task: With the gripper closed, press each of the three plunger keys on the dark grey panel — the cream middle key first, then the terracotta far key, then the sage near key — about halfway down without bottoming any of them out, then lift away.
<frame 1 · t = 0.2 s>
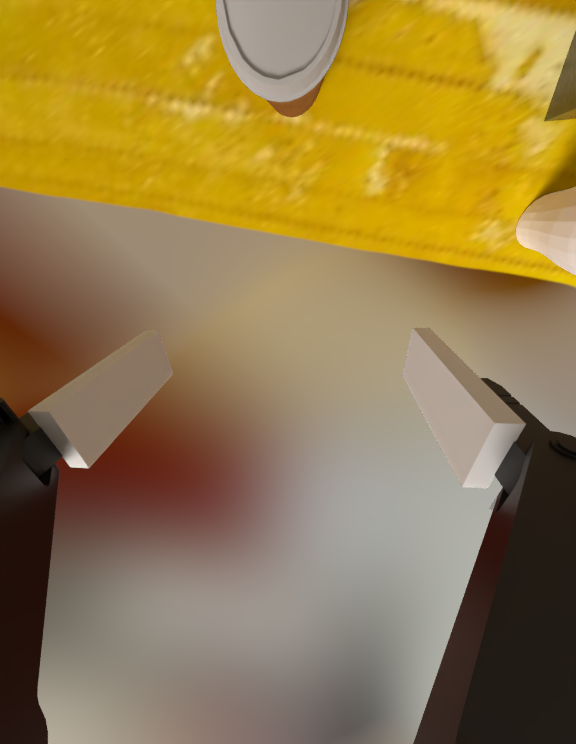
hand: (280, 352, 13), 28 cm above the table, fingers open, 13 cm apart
disposable coffee cup: (292, 77, 27), on the table
cup: (541, 221, 32), on the table
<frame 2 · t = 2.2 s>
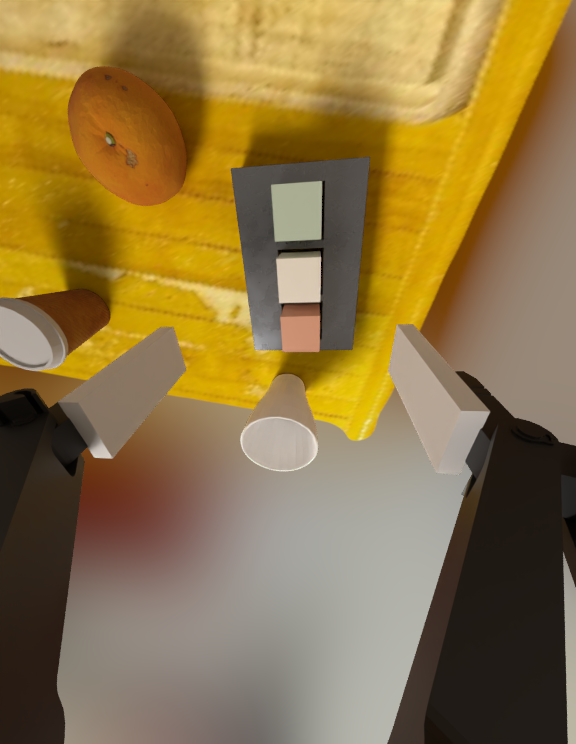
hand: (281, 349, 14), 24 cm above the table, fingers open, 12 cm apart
disposable coffee cup: (91, 308, 41), on the table
key terracotta: (301, 327, 32), point 6 cm above the table, slide at 0.0 cm
fruit: (154, 153, 29), on the table
key sage: (298, 213, 26), point 6 cm above the table, slide at 0.0 cm
key cream: (300, 276, 29), point 6 cm above the table, slide at 0.0 cm
cup: (288, 386, 45), on the table
panel: (302, 267, 34), on the table
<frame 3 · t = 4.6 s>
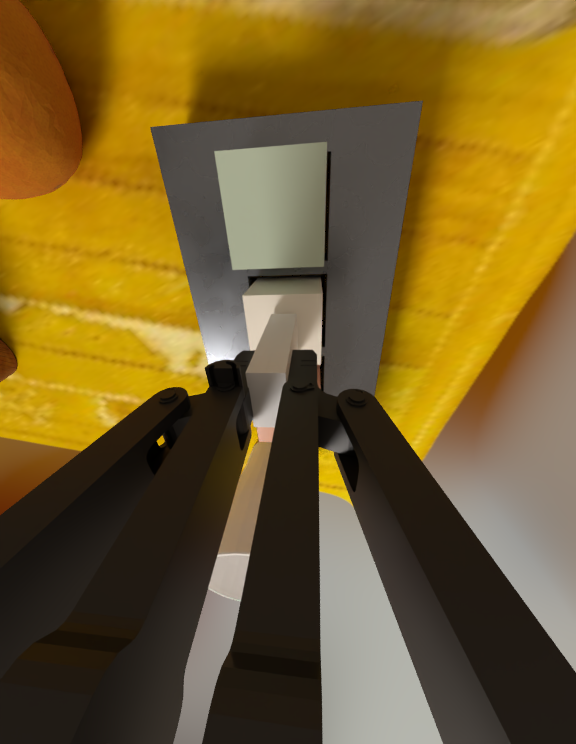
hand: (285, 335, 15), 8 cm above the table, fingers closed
key terracotta: (290, 398, 20), point 6 cm above the table, slide at 0.0 cm
fruit: (32, 108, 17), on the table
key sage: (280, 213, 14), point 6 cm above the table, slide at 0.0 cm
key cream: (287, 318, 18), point 5 cm above the table, slide at 1.1 cm, touching gripper
cup: (275, 452, 33), on the table
panel: (292, 298, 22), on the table
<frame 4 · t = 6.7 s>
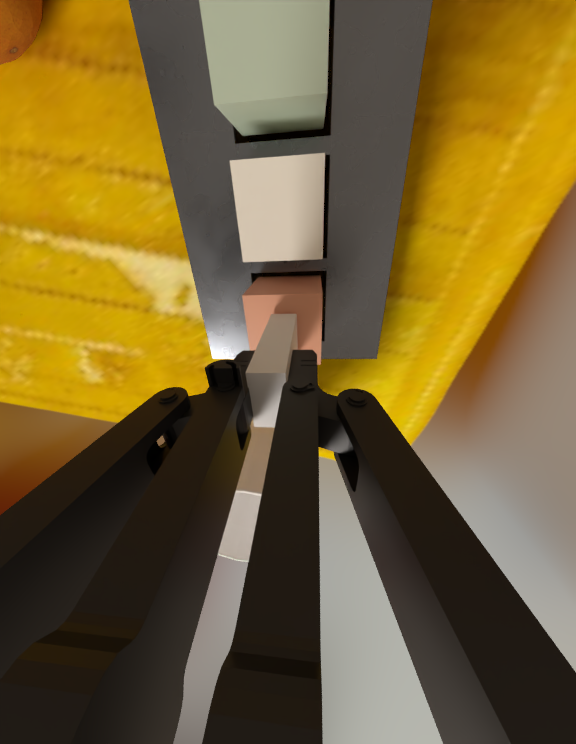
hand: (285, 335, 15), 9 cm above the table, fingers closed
key terracotta: (287, 318, 18), point 6 cm above the table, slide at 0.1 cm, touching gripper
key sage: (273, 46, 11), point 6 cm above the table, slide at 0.0 cm
key cream: (284, 213, 15), point 5 cm above the table, slide at 1.3 cm
cup: (272, 410, 30), on the table
panel: (290, 213, 19), on the table
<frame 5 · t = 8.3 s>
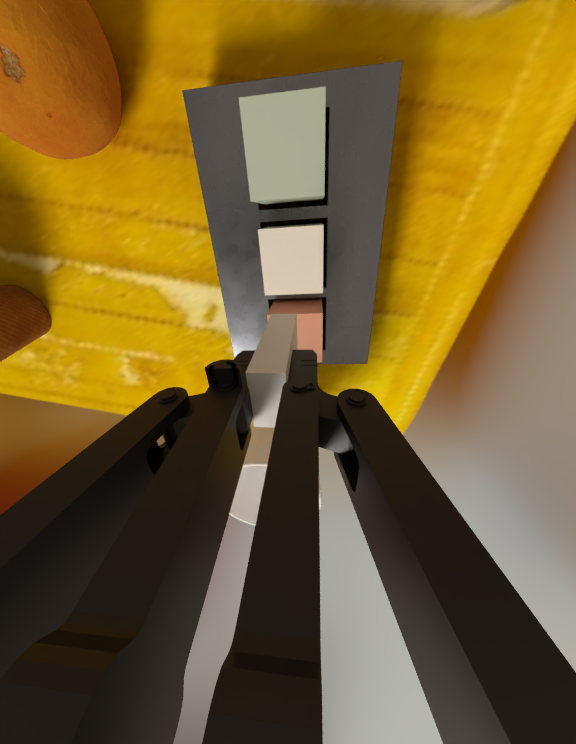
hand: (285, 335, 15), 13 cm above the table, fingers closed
disposable coffee cup: (26, 310, 31), on the table
key terracotta: (297, 328, 24), point 5 cm above the table, slide at 1.3 cm
fruit: (78, 83, 20), on the table
key sage: (288, 158, 17), point 6 cm above the table, slide at 0.0 cm
key cream: (294, 258, 21), point 5 cm above the table, slide at 1.3 cm
cup: (282, 407, 36), on the table
panel: (297, 251, 25), on the table
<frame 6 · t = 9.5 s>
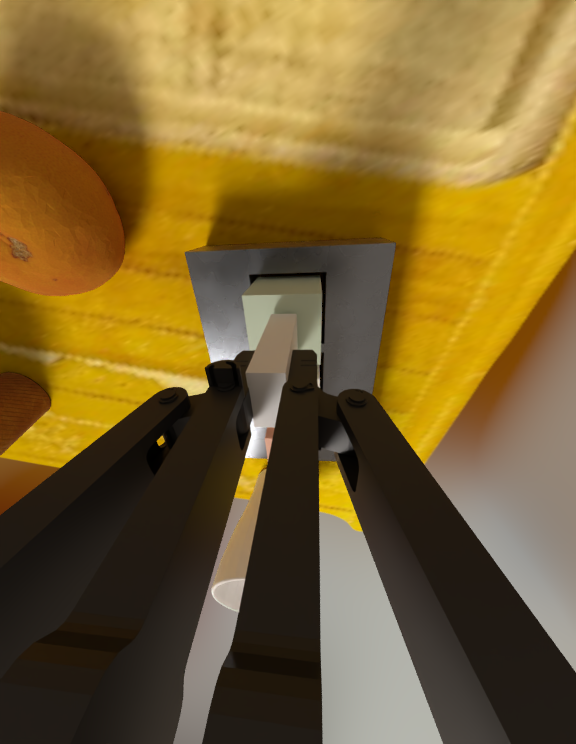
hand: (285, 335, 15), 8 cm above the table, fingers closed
disposable coffee cup: (26, 392, 32), on the table
key terracotta: (294, 436, 25), point 5 cm above the table, slide at 1.3 cm
fruit: (82, 216, 21), on the table
key sage: (287, 318, 18), point 5 cm above the table, slide at 0.5 cm, touching gripper
key cream: (291, 384, 22), point 5 cm above the table, slide at 1.3 cm
cup: (279, 478, 37), on the table
panel: (295, 358, 26), on the table
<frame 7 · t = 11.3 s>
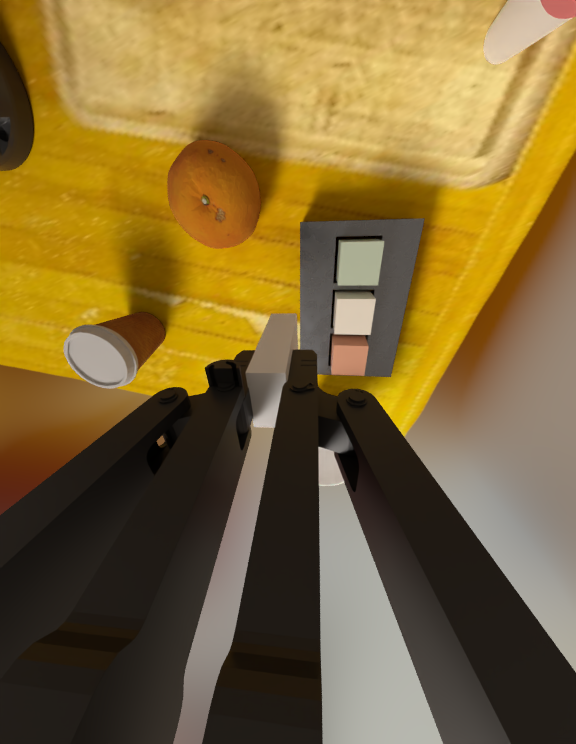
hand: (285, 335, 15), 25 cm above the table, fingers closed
disposable coffee cup: (148, 329, 44), on the table
key terracotta: (347, 352, 37), point 5 cm above the table, slide at 1.3 cm
fruit: (227, 202, 33), on the table
key sage: (357, 261, 31), point 5 cm above the table, slide at 1.3 cm
cup 2: (502, 39, 24), on the table
key cream: (352, 311, 34), point 5 cm above the table, slide at 1.3 cm
cup: (322, 405, 49), on the table
panel: (348, 301, 38), on the table
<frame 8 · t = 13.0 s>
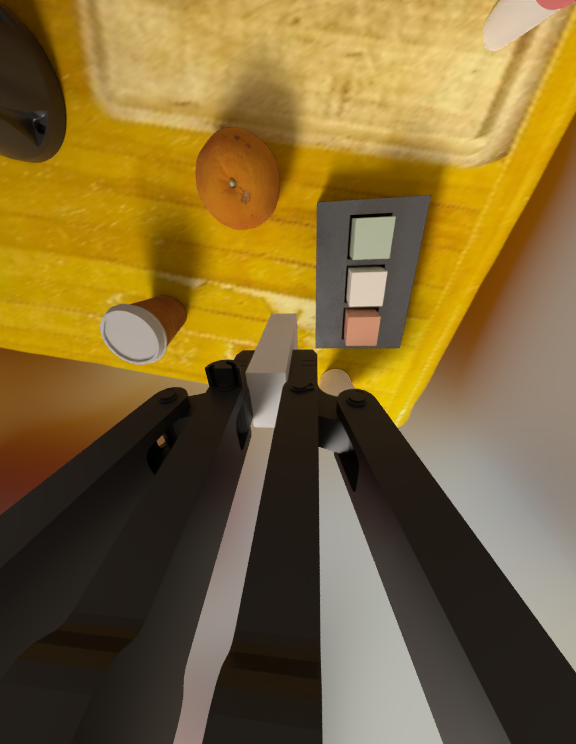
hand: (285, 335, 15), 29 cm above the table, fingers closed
disposable coffee cup: (170, 311, 47), on the table
key terracotta: (360, 325, 40), point 5 cm above the table, slide at 1.3 cm
fruit: (246, 186, 36), on the table
key sage: (369, 237, 34), point 5 cm above the table, slide at 1.3 cm
cup 2: (499, 28, 27), on the table
key cream: (364, 285, 37), point 5 cm above the table, slide at 1.3 cm
cup: (334, 380, 52), on the table
panel: (359, 278, 41), on the table
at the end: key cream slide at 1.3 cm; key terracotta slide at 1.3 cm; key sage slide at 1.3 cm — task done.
